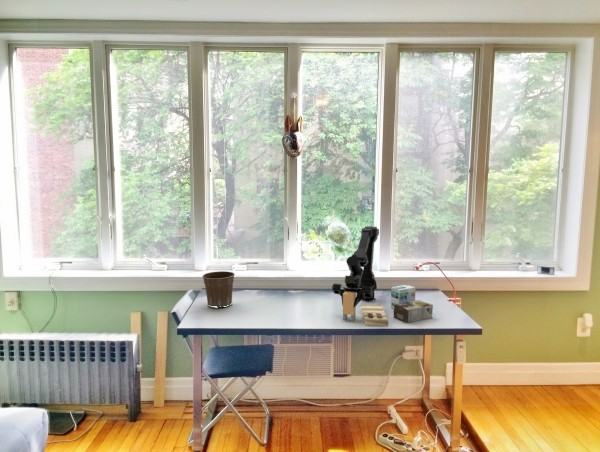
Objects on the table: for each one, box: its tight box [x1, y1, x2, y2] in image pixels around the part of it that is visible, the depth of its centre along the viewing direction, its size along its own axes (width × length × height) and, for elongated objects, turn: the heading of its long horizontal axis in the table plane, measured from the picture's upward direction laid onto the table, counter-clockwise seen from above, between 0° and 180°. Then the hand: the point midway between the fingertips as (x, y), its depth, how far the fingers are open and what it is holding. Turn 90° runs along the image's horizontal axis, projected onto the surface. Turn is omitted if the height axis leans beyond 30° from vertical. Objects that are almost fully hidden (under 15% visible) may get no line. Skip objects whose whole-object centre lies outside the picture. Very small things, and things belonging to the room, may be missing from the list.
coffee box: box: [393, 299, 434, 324], centre depth 199 cm, size 9×6×16 cm
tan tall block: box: [342, 292, 357, 322], centre depth 197 cm, size 4×5×12 cm
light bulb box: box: [390, 284, 417, 310], centre depth 213 cm, size 11×7×11 cm, turn 117°
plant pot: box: [202, 270, 236, 308], centre depth 219 cm, size 16×16×16 cm
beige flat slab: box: [360, 304, 389, 327], centre depth 200 cm, size 22×10×2 cm, turn 177°
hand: (348, 306), depth 195 cm, fingers closed on tan tall block, 5 cm apart
